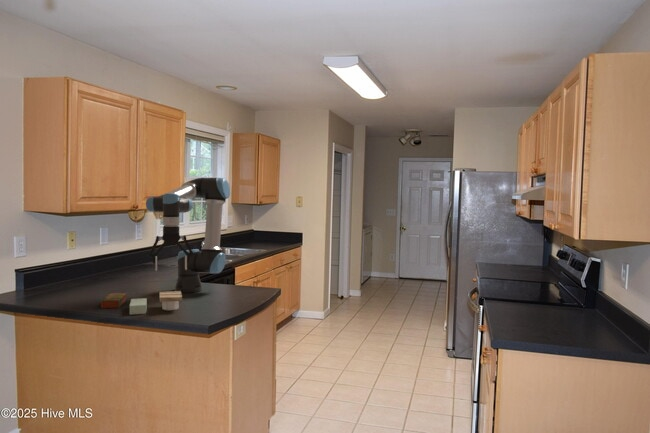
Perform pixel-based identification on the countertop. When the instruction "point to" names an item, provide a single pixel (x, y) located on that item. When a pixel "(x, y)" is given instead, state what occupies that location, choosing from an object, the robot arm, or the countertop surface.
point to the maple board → (170, 296)
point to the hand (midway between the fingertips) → (171, 269)
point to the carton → (113, 300)
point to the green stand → (138, 306)
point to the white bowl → (170, 305)
